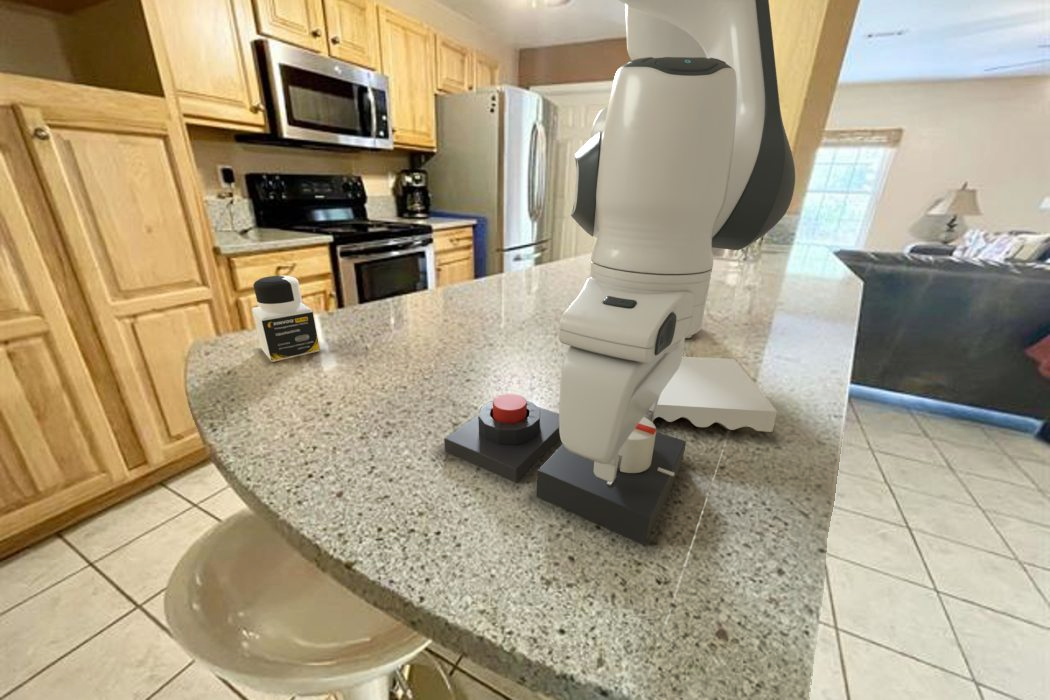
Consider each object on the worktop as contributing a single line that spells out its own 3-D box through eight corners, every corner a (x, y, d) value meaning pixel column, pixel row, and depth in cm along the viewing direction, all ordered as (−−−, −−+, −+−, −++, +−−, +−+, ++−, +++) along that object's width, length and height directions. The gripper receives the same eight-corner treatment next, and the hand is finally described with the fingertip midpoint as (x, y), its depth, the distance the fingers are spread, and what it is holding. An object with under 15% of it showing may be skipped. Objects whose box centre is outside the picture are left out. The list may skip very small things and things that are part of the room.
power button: (505, 404, 47) (505, 390, 47) (532, 413, 45) (533, 399, 45) (486, 418, 44) (485, 403, 44) (514, 428, 43) (514, 414, 42)
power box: (504, 407, 53) (504, 382, 51) (569, 429, 48) (570, 403, 47) (444, 451, 44) (442, 423, 43) (516, 483, 40) (516, 453, 38)
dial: (594, 462, 38) (598, 426, 36) (612, 438, 41) (616, 405, 40) (642, 480, 36) (648, 442, 34) (657, 453, 39) (663, 419, 38)
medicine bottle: (271, 363, 64) (253, 285, 59) (261, 349, 69) (243, 276, 64) (320, 351, 68) (307, 278, 64) (307, 339, 73) (294, 270, 68)
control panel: (590, 434, 47) (592, 410, 46) (684, 466, 42) (689, 440, 41) (536, 497, 38) (537, 468, 37) (648, 548, 33) (653, 517, 32)
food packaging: (590, 425, 50) (770, 438, 47) (591, 400, 48) (777, 411, 46) (590, 373, 63) (730, 380, 61) (591, 352, 62) (734, 358, 59)
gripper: (646, 272, 43) (631, 393, 48) (545, 326, 26) (539, 499, 32) (712, 281, 39) (688, 409, 45) (643, 348, 23) (618, 535, 29)
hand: (625, 447), depth 38 cm, fingers open, 8 cm apart
